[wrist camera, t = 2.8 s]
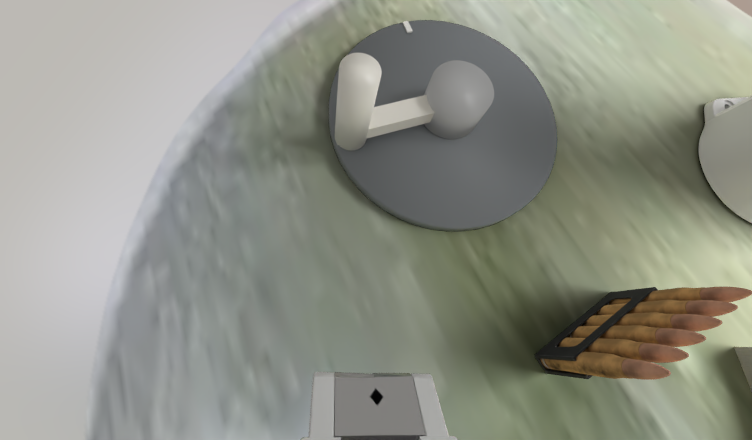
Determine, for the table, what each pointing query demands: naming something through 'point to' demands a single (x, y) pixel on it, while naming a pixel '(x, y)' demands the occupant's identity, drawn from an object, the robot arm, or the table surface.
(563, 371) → the ammunition clip
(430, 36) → the dial plate
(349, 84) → the dial lever
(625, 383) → the table surface
